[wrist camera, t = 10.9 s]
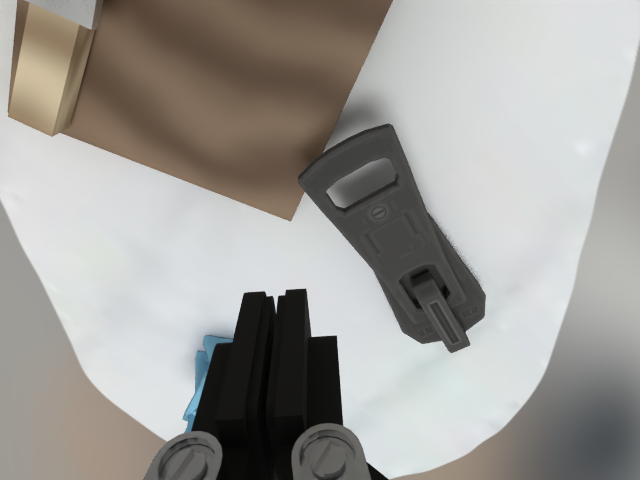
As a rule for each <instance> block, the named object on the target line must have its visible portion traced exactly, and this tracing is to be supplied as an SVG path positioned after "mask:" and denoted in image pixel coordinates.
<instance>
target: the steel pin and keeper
mask: <svg viewBox="0 0 640 480" xmlns="http://www.w3.org/2000/svg"><path fill="white" fill-rule="evenodd" d="M25 1H27V2H30V3H32V4H34V5H36V6H39V7H41V8H43V9H45V10H48V11H50V12H52V13H55V14H57V15H59V16H61V17H64V18H66V19H68V20H70V21H73V22H75V23H77V24H79V25H82V26H84V27H86V28H88V29H91V30H93V29H99V23H100V17H101V12H102V6H103V0H25Z"/></svg>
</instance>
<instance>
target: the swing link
mask: <svg viewBox="0 0 640 480" xmlns="http://www.w3.org/2000/svg"><path fill="white" fill-rule="evenodd" d="M94 31H95V29H93V30H91V29H88V28H86V27H84V26H82V25H79V24H77V23H75V22H73V21H70V20H68V19H66V18H64V17H61V16H59V15H57V14H55V13H52V12H50V11H48V10H45V9H43V8H41V7H39V6H36V5H34V4H32V3H29V8H28V13H27V19H26V24H25V29H24V34H23V40H22V45H21V50H20V55H19V61H18V66H17V71H16V77H15V82H14V87H13V92H12V98H11V103H10V108H9V113H8V117H10V118H12V119H15V120H17V121H19V122H21V123H23V124H25V125H28V126H30V127H32V128H34V129H36V130H39V131H41V132H43V133H45V134H47V135H49V136H54V135H56V134H58V133H60V132H62V131H64V130H66V129H68V128H69V127H70V123H71V119H72V115H73V111H74V108H75V104H76V100H77V96H78V92H79V89H80V85H81V81H82V77H83V73H84V69H85V66H86V62H87V58H88V54H89V50H90V47H91V43H92V39H93V35H94Z"/></svg>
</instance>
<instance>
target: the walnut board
mask: <svg viewBox="0 0 640 480" xmlns="http://www.w3.org/2000/svg"><path fill="white" fill-rule="evenodd" d="M392 1H393V0H103V6H102V12H101V17H100V23H99V29H95V31H94V35H93V39H92V43H91V47H90V50H89V54H88V58H87V62H86V66H85V69H84V73H83V77H82V81H81V85H80V89H79V92H78V96H77V100H76V104H75V108H74V111H73V115H72V119H71V123H70V127H69V128H68V129H66V130H64V131H62V132H60V133H62V134H65V135H67V136H70V137H73V138H75V139H78V140H80V141H83V142H86V143H88V144H91V145H93V146H96V147H99V148H101V149H104V150H106V151H109V152H112V153H114V154H117V155H119V156H122V157H125V158H127V159H130V160H132V161H135V162H138V163H140V164H143V165H145V166H148V167H151V168H153V169H156V170H158V171H161V172H164V173H166V174H169V175H171V176H174V177H176V178H179V179H182V180H184V181H187V182H189V183H192V184H195V185H197V186H200V187H202V188H205V189H208V190H210V191H213V192H215V193H218V194H221V195H223V196H226V197H228V198H231V199H234V200H236V201H239V202H241V203H244V204H247V205H249V206H252V207H254V208H257V209H260V210H262V211H265V212H267V213H270V214H273V215H275V216H278V217H280V218H283V219H285V220H288V221H291V220H292V218H293V216H294V214H295V211H296V209H297V207H298V205H299V203H300V201H301V198H302V196H303V194H304V192H305V191H304V190H303V189H302V187H301V186H300V185H299V184H298V176H299V175H300V174H301V173H302V172H303V171H304V170H305V169H306V168H307V166H308V165H309V164H310V163H311V162H312V161H313V160H315V159H316V158H317V157H319V156H320V155H322V153H323V151H324V148H325V146H326V144H327V142H328V140H329V138H330V135H331V133H332V131H333V129H334V127H335V125H336V122H337V120H338V118H339V116H340V114H341V112H342V109H343V107H344V105H345V103H346V101H347V99H348V96H349V94H350V92H351V90H352V88H353V86H354V83H355V81H356V79H357V77H358V75H359V73H360V70H361V68H362V66H363V64H364V62H365V60H366V57H367V55H368V53H369V51H370V49H371V47H372V44H373V42H374V40H375V38H376V36H377V34H378V31H379V29H380V27H381V25H382V23H383V21H384V18H385V16H386V14H387V12H388V10H389V8H390V5H391V3H392ZM29 3H30V2H27V1H25V0H17V11H16V23H15V34H14V46H13V57H12V69H11V80H10V92H9V103H8V113H9V108H10V103H11V98H12V92H13V87H14V82H15V77H16V71H17V66H18V61H19V55H20V50H21V45H22V40H23V34H24V29H25V24H26V19H27V13H28V8H29Z"/></svg>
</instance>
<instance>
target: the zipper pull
mask: <svg viewBox="0 0 640 480" xmlns="http://www.w3.org/2000/svg"><path fill="white" fill-rule="evenodd" d="M385 157H386V158H389V159H390V160H391V162H392V164H393V166H394V168H395V170H396V172H397V174H396V179H395V181H394V182H392V183H390V184H388V185H386V186H385V187H383V188H381V189H379V190H377V191H375V192H374V193H372V194H370V195H368V196H366V197H364V198H363V199H361V200H359V201H357V202H355V203H353V204H352V205H350V206H348V207H346V208H341V207H338V206H335V204H334V203H333V201H332V200H331V198H330V197H329V195H328V194H327V192H326V190H328V189H329V188H330V187H331V186H332V185H333V184H334V183H335V182H336V181H337V180H339V179H341V178H343V177H345V176H346V175H348V174H350V173H352V172H353V171H355V170H357V169H359V168H360V167H362V166H364V165H366V164H368V163H369V162H372V161H375V160H378V159H382V158H385ZM298 184H299V185H300V186H301V187H302V189H303V190H304V191H305V192H306V193H307V194H308V196H309V197H310V198H311V199H312V200H313V201H314V203H315V204H316V205H317V206H318V207H319V208H320V210H321V211H322V212H323V213H324V214H325V216H326V217H327V218H328V219H329V220H330V221H331V222H332V223H333V224H334V225H335V226H336V228H337V229H338V230H339V231H340V232H341V233H342V234H343V236H344V237H345V238H346V239H347V240H348V241H349V243H350V244H351V245H352V246H353V247H354V248H355V250H356V251H357V252H358V253H359V254H360V255H361V257H362V258H363V259H364V260H365V261H366V262H367V263H368V265H369V266H370V267H371V268H372V269H373V270H374V272H375V275H376V277H377V279H378V281H379V283H380V285H381V287H382V289H383V291H384V293H385V295H386V297H387V300H388V302H389V304H390V306H391V308H392V310H393V312H394V314H395V317H396V319H397V321H398V323H399V325H400V328H401V330H402V332H403V333H405V334H406V335H408V336H410V337H411V338H413V339H415V340H416V341H418V342H420V343H421V344H425V343H431V342H437V341H443V343H444V344H445V346H446V347H447V349H448V351H449V352H451V353H453V352H456V351H458V350H460V349H463V348H465V347H467V346H470V342H469V340H468V337H467V335H466V333H465V332H466V331H467V330H468V329H469V328H471V327H472V326H473V325H475V324H476V323H477V322H479V321H480V320H481V319H482V318H484V315H485V298H486V295H485V293H484V292H483V290H482V288H481V287H480V285H479V283H478V282H477V280H476V279H475V278H474V276H473V275H472V273H471V272H470V271H469V269H468V268H467V267H466V265H465V264H464V263H463V261H462V260H461V258H460V257H459V256H458V254H457V253H456V251H455V250H454V248H453V247H452V246H451V244H450V243H449V241H448V240H447V238H446V237H445V236H444V234H443V233H442V231H441V230H440V228H439V227H438V226H437V224H436V223H435V221H434V220H433V219H432V217H431V216H430V214H429V213H428V212H427V210H426V208H425V205H424V203H423V200H422V198H421V195H420V193H419V190H418V188H417V185H416V183H415V180H414V178H413V175H412V172H411V169H410V166H409V164H408V161H407V159H406V156H405V154H404V152H403V149H402V147H401V144H400V142H399V139H398V137H397V134H396V132H395V129H394V127H393V126H392V125H391V124H385V125H381V126H378V127H374V128H371V129H367V130H364V131H362V132H360V133H358V134H356V135H353V136H351V137H349V138H347V139H345V140H344V141H342V142H340V143H338V144H337V145H335V146H333V147H332V148H330V149H328V150H327V151H326V152H324V153H323V154H322V155H320V156H319V157H317V158H316V159H315V160H313V161H312V162H311V163H310V164H309V165H308V166H307V168H306V169H305V170H304V171H303V172H302V173H301V174H300V175H299V176H298Z"/></svg>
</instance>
